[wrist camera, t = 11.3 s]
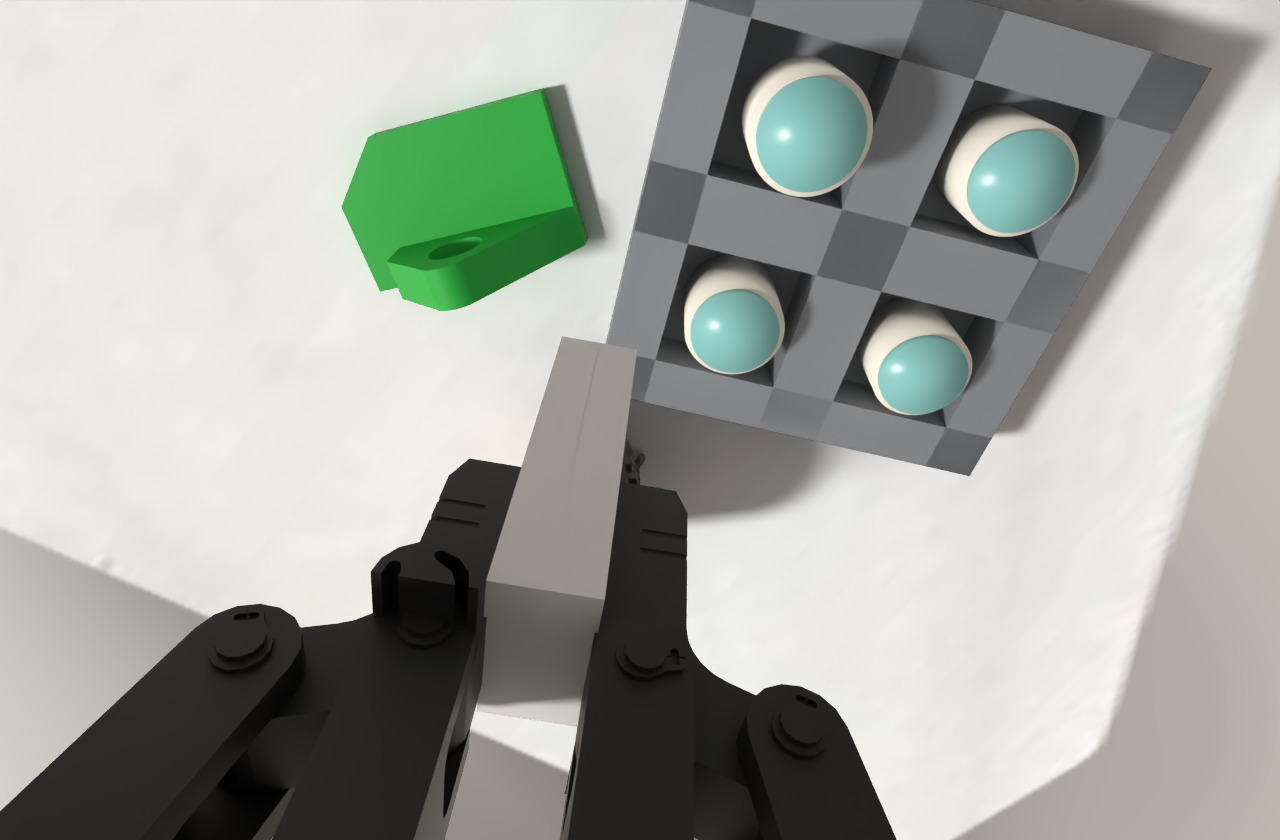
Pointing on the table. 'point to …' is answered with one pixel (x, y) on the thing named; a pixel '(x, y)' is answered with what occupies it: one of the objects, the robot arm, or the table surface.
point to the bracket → (464, 202)
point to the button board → (882, 209)
